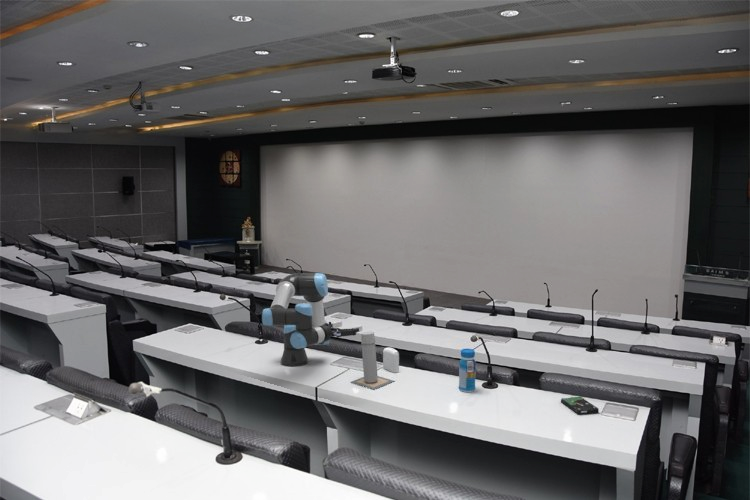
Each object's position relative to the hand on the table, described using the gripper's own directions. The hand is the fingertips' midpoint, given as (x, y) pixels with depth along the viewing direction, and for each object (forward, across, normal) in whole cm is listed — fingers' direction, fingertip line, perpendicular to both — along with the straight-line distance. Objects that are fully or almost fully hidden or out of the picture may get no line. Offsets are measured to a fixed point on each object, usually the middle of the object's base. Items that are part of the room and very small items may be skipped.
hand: (351, 325), depth 270 cm
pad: (+14, +2, -32) cm, 35 cm away
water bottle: (+13, +2, -31) cm, 34 cm away
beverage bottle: (+36, +44, -32) cm, 66 cm away
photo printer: (+35, -3, -32) cm, 47 cm away
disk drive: (+50, +95, -32) cm, 112 cm away
